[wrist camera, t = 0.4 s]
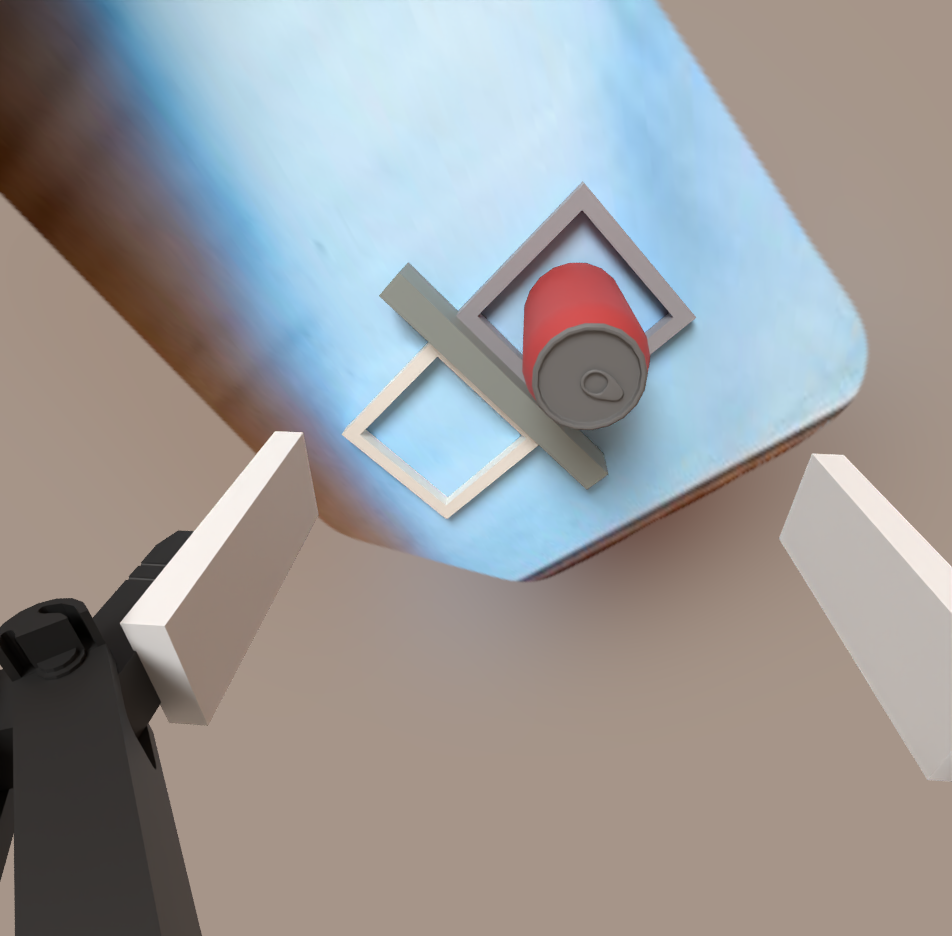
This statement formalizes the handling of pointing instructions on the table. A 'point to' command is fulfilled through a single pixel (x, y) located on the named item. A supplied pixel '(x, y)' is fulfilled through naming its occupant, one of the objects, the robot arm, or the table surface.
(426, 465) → the table surface
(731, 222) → the table surface
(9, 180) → the table surface
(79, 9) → the table surface
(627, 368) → the beer can
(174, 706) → the robot arm
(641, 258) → the double frame with crossbar
